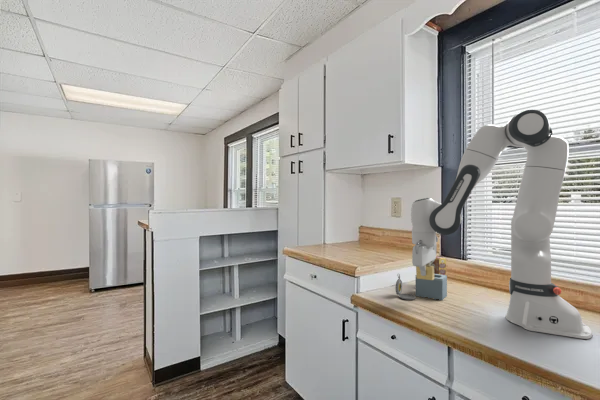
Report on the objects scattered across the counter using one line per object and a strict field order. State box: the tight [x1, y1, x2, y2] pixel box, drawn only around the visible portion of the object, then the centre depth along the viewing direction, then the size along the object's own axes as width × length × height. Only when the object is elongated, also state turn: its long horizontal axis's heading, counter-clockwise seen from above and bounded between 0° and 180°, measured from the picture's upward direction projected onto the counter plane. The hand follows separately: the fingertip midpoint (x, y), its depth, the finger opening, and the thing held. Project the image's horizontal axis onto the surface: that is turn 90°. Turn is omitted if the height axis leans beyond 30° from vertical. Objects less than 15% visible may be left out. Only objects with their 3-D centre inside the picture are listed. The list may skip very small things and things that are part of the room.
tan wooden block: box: [415, 265, 435, 280], centre depth 122 cm, size 6×3×5 cm, turn 52°
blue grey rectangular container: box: [415, 274, 448, 301], centre depth 135 cm, size 11×8×9 cm
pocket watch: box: [395, 273, 416, 301], centre depth 133 cm, size 8×8×10 cm
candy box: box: [430, 255, 447, 275], centre depth 146 cm, size 9×4×15 cm, turn 13°
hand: (425, 274), depth 122 cm, fingers closed on tan wooden block, 3 cm apart
